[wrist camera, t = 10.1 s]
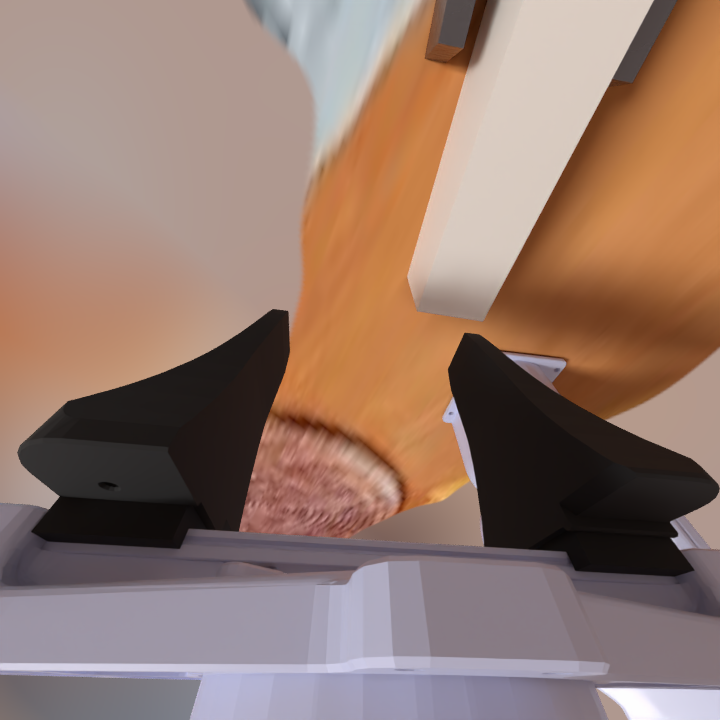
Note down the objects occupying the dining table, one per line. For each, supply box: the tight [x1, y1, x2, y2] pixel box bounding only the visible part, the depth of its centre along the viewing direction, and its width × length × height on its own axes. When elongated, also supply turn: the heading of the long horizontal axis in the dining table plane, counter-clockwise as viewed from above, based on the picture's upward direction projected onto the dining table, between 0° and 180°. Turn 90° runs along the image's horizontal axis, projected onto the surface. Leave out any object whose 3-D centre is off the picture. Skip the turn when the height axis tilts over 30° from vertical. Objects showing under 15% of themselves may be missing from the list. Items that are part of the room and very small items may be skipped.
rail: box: [407, 0, 654, 321], centre depth 13 cm, size 16×4×5 cm, turn 170°
